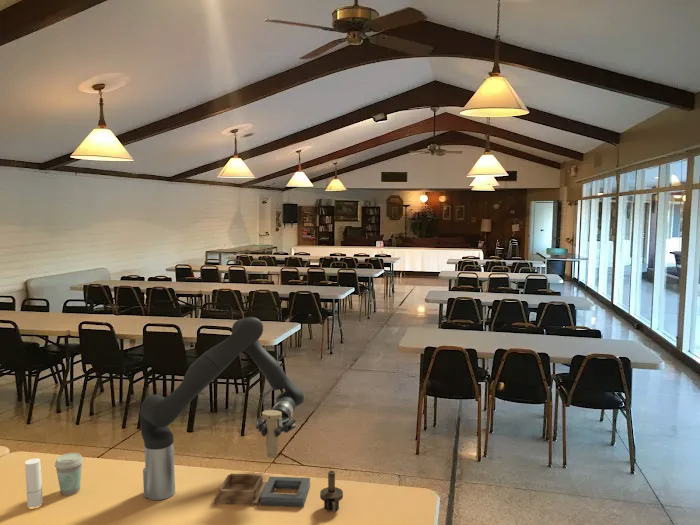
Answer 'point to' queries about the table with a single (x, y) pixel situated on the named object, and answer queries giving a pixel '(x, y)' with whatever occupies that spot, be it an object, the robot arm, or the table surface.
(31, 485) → the tube
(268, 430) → the handle
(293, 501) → the socket block
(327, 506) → the industrial component
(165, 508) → the table surface
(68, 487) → the coffee cup
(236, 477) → the tray
